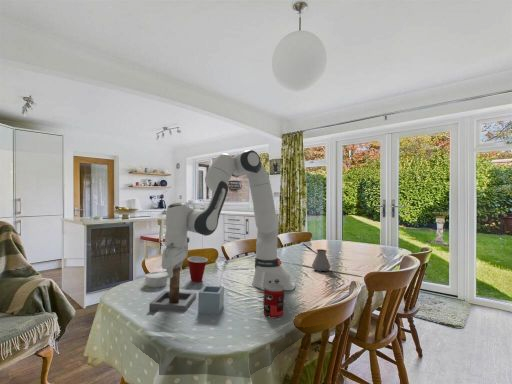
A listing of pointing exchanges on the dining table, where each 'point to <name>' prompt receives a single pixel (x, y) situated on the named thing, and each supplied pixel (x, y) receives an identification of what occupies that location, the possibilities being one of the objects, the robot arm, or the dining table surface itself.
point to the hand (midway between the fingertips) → (175, 274)
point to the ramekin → (156, 279)
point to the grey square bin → (211, 299)
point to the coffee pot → (320, 260)
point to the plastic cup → (197, 268)
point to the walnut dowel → (174, 286)
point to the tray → (164, 304)
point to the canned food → (273, 300)
